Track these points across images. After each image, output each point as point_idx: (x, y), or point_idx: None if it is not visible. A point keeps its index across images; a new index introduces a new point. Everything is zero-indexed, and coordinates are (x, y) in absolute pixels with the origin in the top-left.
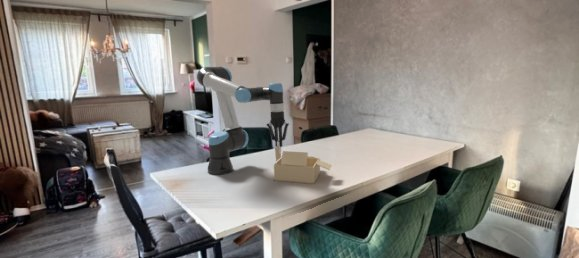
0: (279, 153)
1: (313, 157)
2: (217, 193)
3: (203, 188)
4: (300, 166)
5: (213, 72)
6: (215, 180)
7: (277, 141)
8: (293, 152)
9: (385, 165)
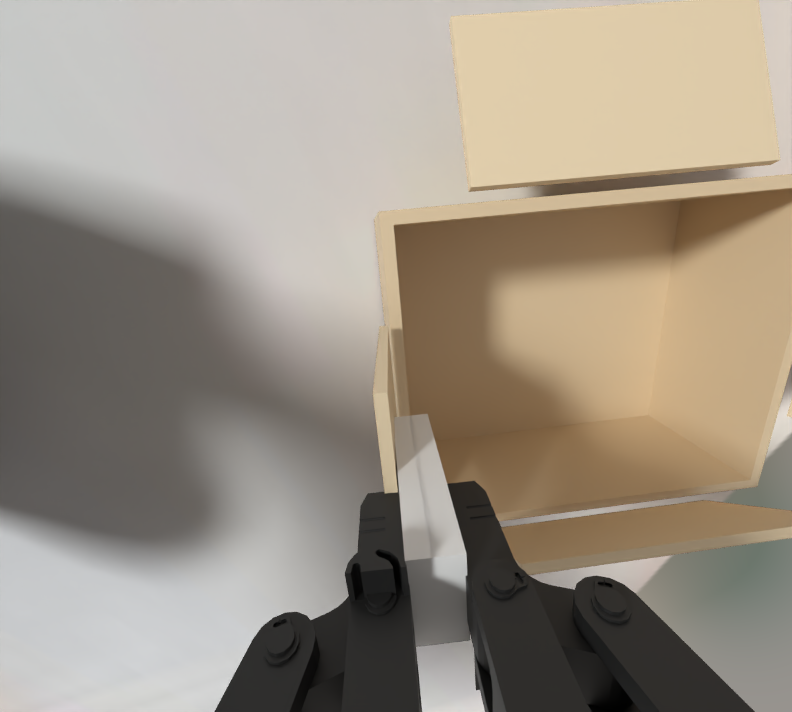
0: (392, 393)
1: (770, 159)
2: (207, 674)
3: (85, 661)
4: (648, 498)
5: None
6: (32, 565)
7: (424, 637)
8: (666, 552)
9: None
